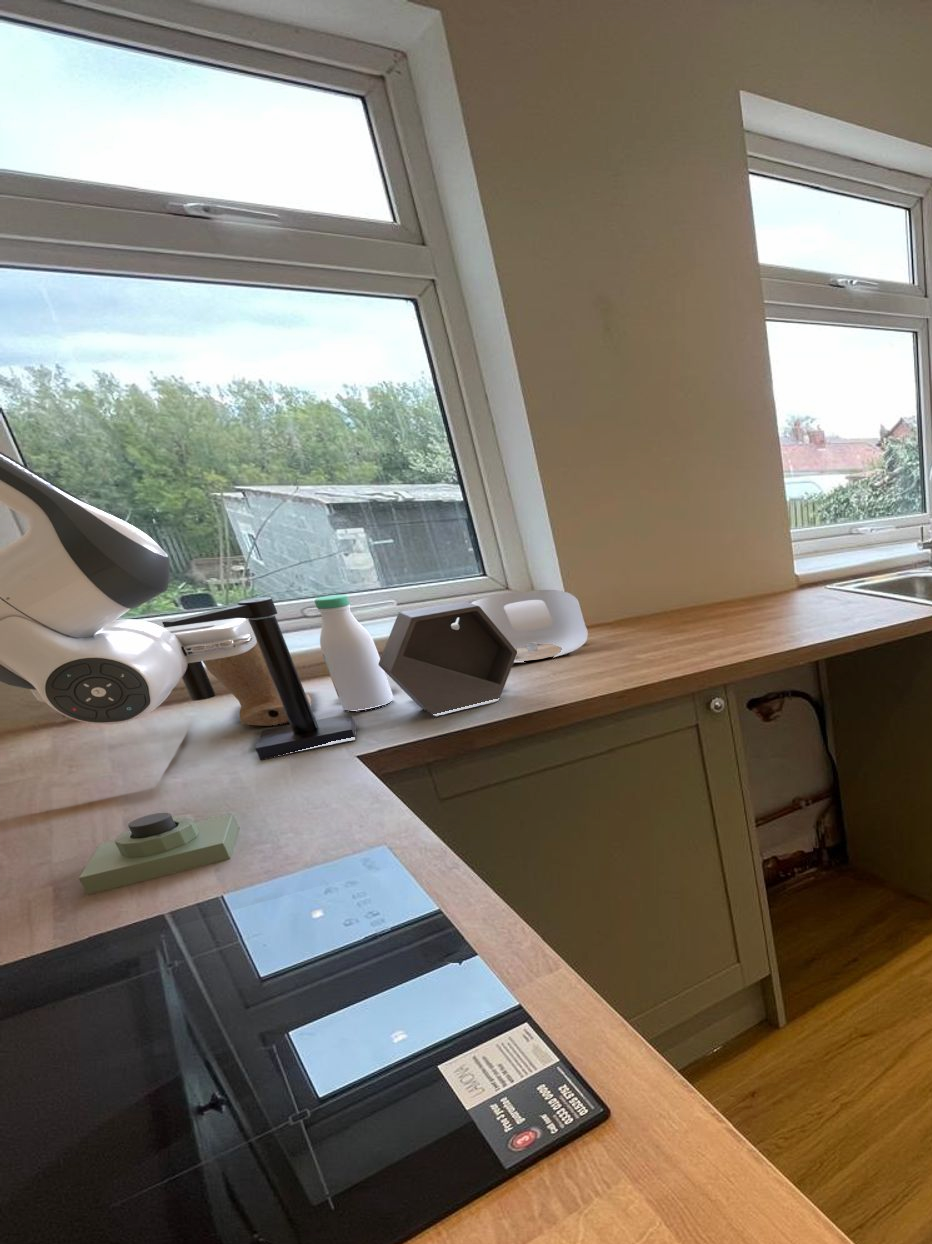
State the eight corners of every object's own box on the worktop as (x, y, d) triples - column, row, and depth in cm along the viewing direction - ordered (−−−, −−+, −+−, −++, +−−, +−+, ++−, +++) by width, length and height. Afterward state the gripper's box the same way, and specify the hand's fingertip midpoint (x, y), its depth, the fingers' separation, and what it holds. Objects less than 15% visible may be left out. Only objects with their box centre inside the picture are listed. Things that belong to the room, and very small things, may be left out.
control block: (87, 895, 89) (70, 863, 88) (108, 859, 97) (92, 830, 95) (230, 859, 96) (216, 829, 94) (239, 828, 103) (227, 800, 101)
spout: (284, 668, 129) (256, 597, 125) (306, 668, 129) (278, 597, 124) (182, 700, 115) (146, 621, 111) (206, 700, 115) (171, 621, 110)
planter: (378, 703, 134) (424, 586, 135) (366, 694, 138) (410, 581, 139) (487, 730, 147) (528, 623, 148) (473, 721, 152) (513, 618, 153)
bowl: (570, 636, 192) (558, 586, 187) (593, 651, 178) (581, 597, 174) (474, 653, 180) (458, 600, 176) (491, 670, 166) (474, 614, 162)
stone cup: (232, 715, 146) (196, 634, 140) (315, 700, 152) (284, 621, 147) (224, 738, 135) (186, 651, 129) (314, 720, 141) (282, 637, 135)
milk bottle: (405, 699, 150) (368, 592, 143) (365, 714, 144) (324, 602, 136) (373, 697, 152) (335, 591, 145) (332, 711, 146) (290, 601, 138)
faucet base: (260, 760, 125) (204, 630, 117) (265, 741, 132) (213, 618, 124) (355, 740, 131) (309, 616, 123) (355, 724, 139) (312, 606, 131)
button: (131, 843, 92) (124, 829, 92) (137, 831, 95) (131, 818, 94) (174, 833, 94) (167, 820, 94) (179, 822, 97) (172, 809, 96)
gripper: (239, 616, 97) (250, 599, 107) (-13, 650, 86) (27, 627, 96) (260, 667, 99) (269, 645, 110) (18, 706, 88) (54, 678, 99)
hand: (154, 637), depth 103 cm, fingers open, 8 cm apart
